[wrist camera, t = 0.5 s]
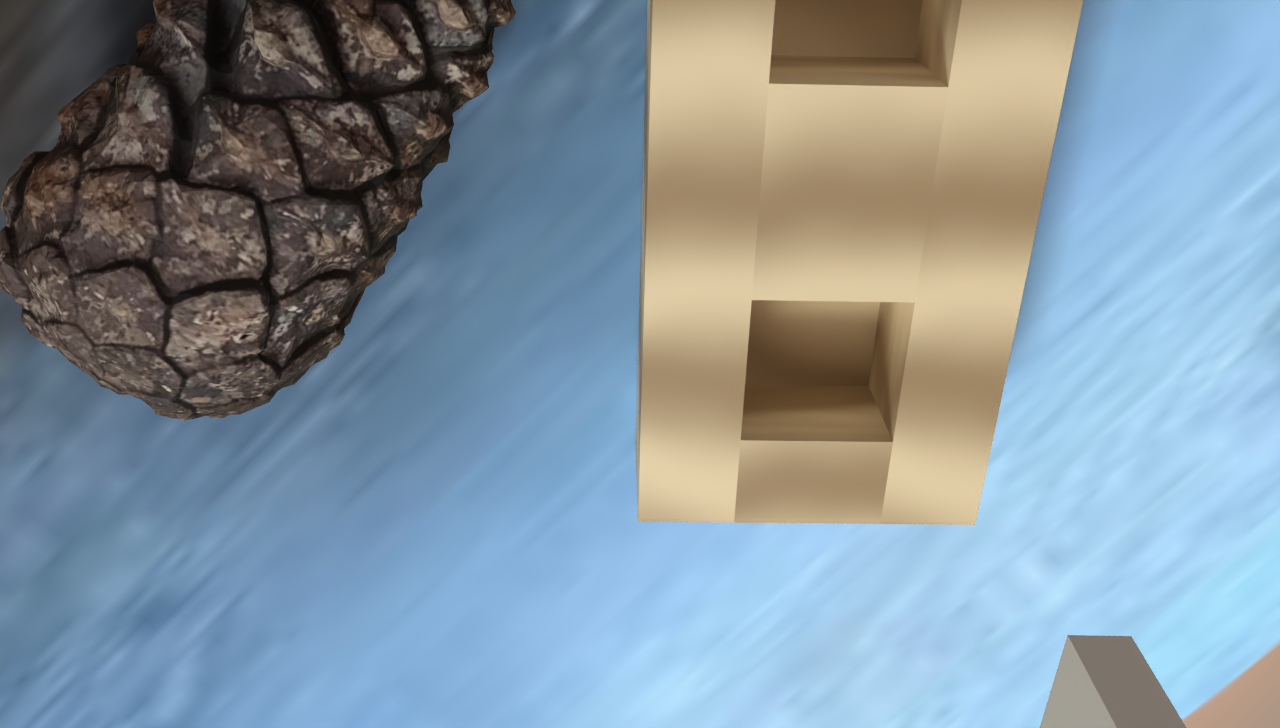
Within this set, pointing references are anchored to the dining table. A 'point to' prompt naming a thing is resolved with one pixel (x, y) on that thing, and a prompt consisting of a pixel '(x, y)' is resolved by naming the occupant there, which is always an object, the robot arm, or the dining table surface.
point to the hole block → (836, 250)
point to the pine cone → (237, 190)
